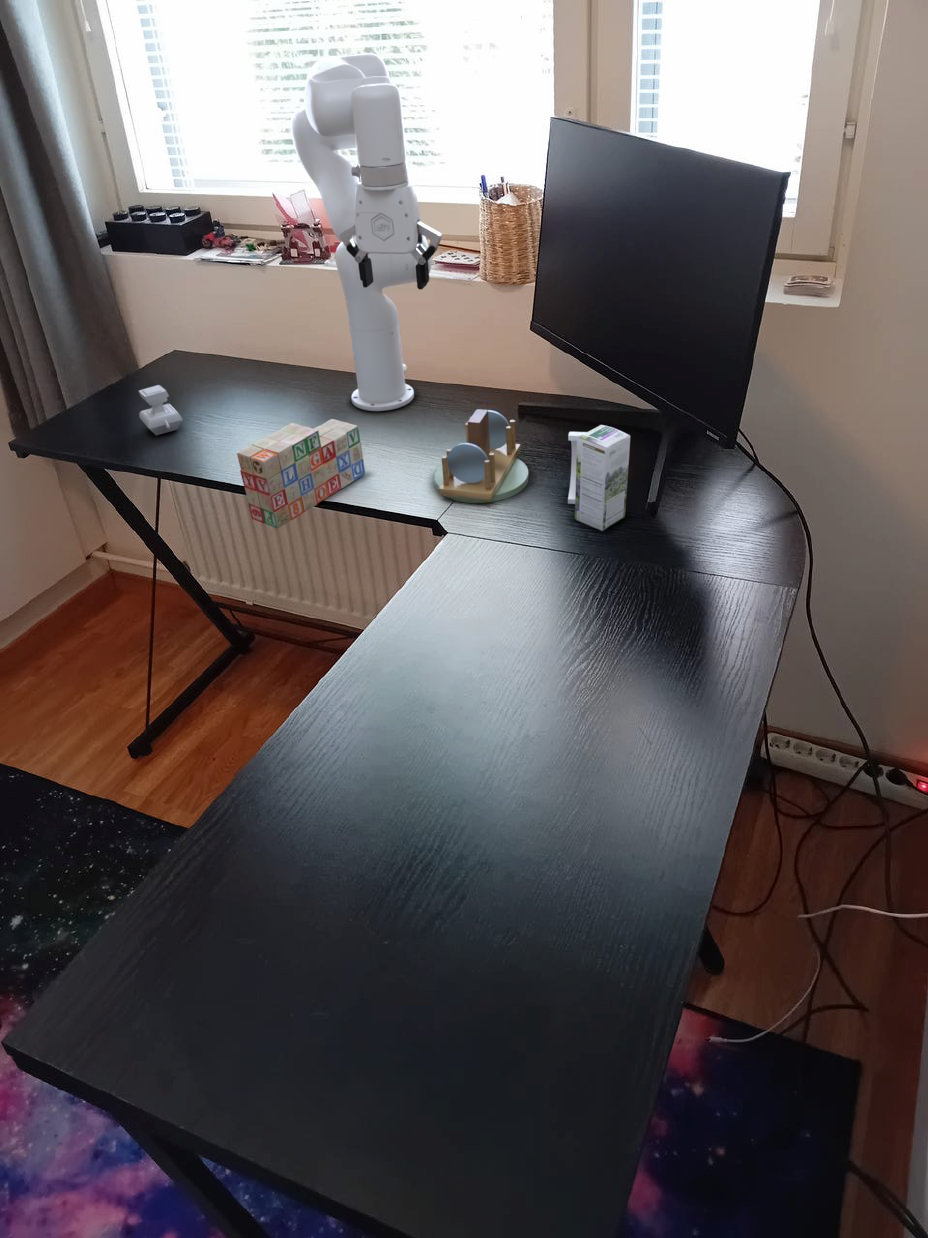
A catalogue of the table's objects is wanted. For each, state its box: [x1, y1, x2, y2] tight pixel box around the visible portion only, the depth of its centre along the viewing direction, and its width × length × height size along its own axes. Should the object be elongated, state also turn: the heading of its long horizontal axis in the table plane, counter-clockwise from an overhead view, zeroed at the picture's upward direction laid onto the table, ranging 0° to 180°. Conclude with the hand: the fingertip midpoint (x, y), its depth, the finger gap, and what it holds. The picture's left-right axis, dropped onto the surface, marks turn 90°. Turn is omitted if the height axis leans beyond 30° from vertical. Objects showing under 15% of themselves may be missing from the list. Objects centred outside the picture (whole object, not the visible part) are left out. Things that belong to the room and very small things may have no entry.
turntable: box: [433, 457, 530, 504], centre depth 160 cm, size 16×16×1 cm
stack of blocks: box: [236, 418, 366, 529], centre depth 155 cm, size 21×6×12 cm, turn 143°
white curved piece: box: [567, 431, 588, 505], centre depth 150 cm, size 5×6×12 cm
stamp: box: [138, 384, 183, 436], centre depth 182 cm, size 9×7×8 cm
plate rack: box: [437, 408, 522, 500], centre depth 156 cm, size 18×9×10 cm, turn 162°
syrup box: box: [574, 424, 631, 532], centre depth 143 cm, size 6×6×14 cm
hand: (395, 285), depth 157 cm, fingers open, 9 cm apart
